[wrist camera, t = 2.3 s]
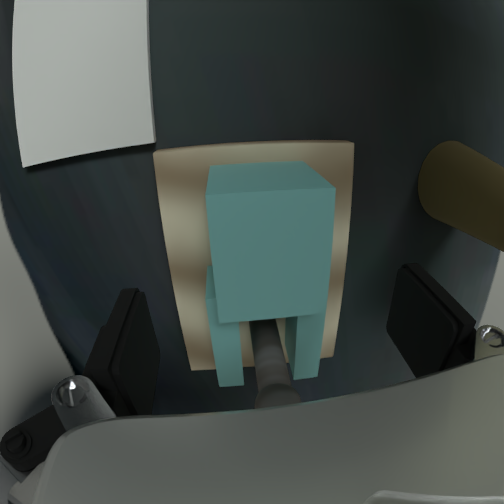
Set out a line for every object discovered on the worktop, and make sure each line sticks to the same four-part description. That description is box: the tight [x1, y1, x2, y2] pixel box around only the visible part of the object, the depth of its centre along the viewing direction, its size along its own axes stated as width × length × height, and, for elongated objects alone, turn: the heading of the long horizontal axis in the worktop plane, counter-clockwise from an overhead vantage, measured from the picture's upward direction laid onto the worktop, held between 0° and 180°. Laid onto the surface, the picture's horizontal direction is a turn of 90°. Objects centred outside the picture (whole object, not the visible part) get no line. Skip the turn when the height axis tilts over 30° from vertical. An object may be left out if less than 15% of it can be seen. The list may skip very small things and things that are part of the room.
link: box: [205, 161, 336, 387], centre depth 17 cm, size 13×6×6 cm, turn 2°
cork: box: [418, 141, 504, 252], centre depth 15 cm, size 6×6×11 cm
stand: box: [153, 140, 354, 409], centre depth 17 cm, size 16×11×10 cm
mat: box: [12, 0, 156, 167], centre depth 13 cm, size 15×9×1 cm, turn 2°
